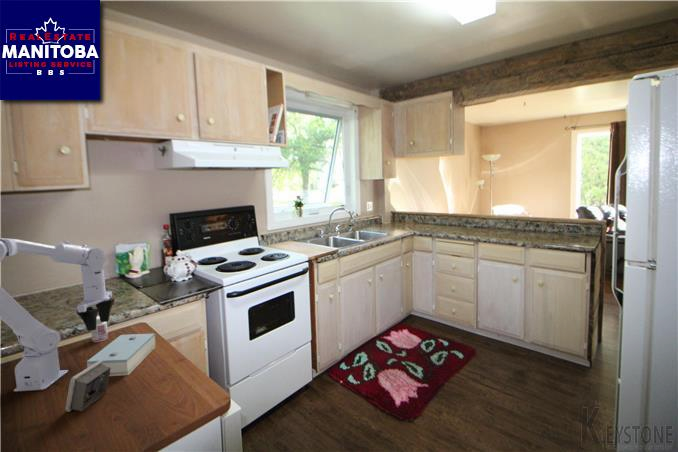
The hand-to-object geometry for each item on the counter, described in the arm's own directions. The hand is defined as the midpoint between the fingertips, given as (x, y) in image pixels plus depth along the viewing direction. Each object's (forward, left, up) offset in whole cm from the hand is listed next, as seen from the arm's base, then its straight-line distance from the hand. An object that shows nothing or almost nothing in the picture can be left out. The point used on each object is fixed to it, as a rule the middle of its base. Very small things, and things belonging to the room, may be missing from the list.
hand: (98, 325), depth 110 cm
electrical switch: (-25, -12, -11) cm, 30 cm away
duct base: (-4, -9, -10) cm, 15 cm away
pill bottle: (+13, +8, -11) cm, 19 cm away
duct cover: (-4, -9, -6) cm, 12 cm away
